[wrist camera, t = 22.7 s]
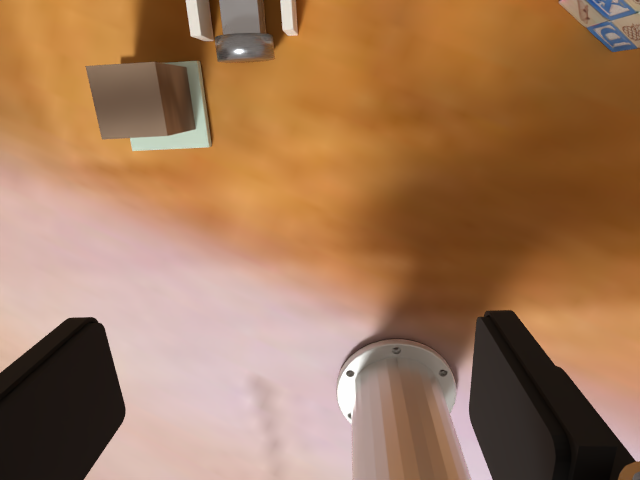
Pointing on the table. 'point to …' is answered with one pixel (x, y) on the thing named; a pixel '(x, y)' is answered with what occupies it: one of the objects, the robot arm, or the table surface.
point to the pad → (202, 131)
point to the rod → (243, 33)
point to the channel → (203, 25)
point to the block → (141, 99)
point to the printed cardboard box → (609, 21)
